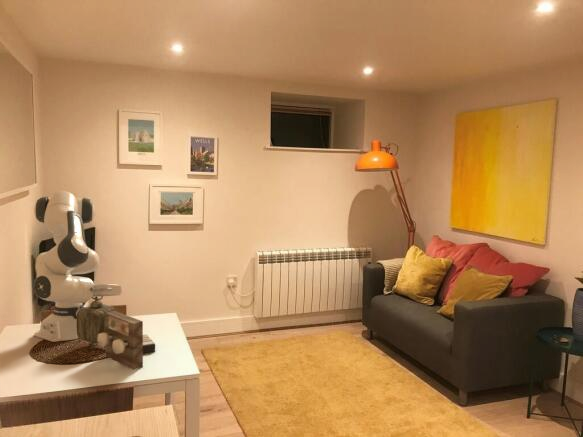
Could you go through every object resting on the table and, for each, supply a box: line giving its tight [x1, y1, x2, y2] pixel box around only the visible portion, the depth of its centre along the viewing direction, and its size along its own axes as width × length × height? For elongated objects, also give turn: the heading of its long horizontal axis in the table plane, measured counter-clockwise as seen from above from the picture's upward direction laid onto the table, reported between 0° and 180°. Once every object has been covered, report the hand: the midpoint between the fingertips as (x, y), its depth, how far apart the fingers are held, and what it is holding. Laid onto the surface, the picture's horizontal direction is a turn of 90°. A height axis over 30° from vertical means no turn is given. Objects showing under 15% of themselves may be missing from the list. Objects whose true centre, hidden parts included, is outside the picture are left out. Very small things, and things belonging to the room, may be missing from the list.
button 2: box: [112, 339, 129, 354], centre depth 183 cm, size 7×5×5 cm
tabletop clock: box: [76, 296, 116, 350], centre depth 202 cm, size 14×9×25 cm, turn 66°
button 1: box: [97, 332, 113, 348], centre depth 190 cm, size 7×5×5 cm
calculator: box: [143, 333, 156, 355], centre depth 204 cm, size 11×4×15 cm
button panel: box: [105, 310, 144, 371], centre depth 189 cm, size 4×20×18 cm, turn 51°
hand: (110, 292), depth 177 cm, fingers open, 8 cm apart
